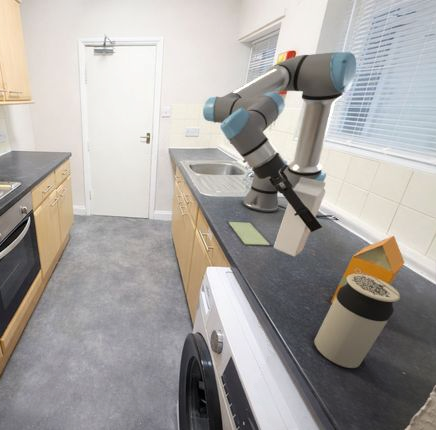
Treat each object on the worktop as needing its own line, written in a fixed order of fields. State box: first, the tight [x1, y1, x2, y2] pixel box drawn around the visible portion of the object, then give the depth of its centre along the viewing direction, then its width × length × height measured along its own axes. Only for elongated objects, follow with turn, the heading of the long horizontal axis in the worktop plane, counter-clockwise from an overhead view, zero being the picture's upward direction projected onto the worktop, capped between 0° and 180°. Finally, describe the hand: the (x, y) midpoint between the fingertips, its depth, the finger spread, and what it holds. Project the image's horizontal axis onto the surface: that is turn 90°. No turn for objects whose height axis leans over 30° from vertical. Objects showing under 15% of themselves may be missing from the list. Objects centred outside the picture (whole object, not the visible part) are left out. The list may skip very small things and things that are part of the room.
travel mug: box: [313, 274, 401, 369], centre depth 53 cm, size 8×8×18 cm
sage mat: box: [228, 221, 271, 247], centre depth 105 cm, size 9×18×1 cm, turn 177°
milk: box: [273, 177, 326, 258], centre depth 75 cm, size 6×6×22 cm
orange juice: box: [330, 235, 405, 304], centre depth 66 cm, size 8×9×20 cm
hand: (311, 222), depth 75 cm, fingers closed on milk, 8 cm apart
